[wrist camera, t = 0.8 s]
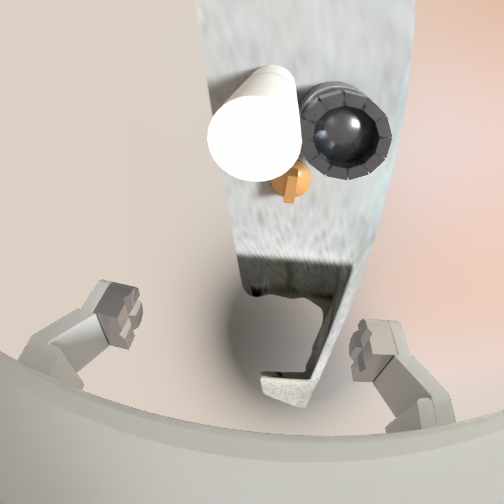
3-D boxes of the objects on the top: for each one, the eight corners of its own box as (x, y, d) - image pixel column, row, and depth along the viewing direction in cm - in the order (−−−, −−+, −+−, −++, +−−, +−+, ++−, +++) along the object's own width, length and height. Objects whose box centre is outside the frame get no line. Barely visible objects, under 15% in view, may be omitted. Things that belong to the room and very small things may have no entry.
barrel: (303, 74, 37) (307, 83, 30) (380, 91, 37) (401, 106, 29) (292, 144, 45) (292, 171, 38) (363, 158, 45) (377, 187, 38)
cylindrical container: (266, 115, 43) (244, 196, 24) (239, 81, 39) (188, 131, 21) (304, 93, 39) (319, 154, 21) (277, 56, 36) (265, 77, 17)
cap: (274, 155, 47) (272, 168, 44) (312, 161, 47) (314, 175, 43) (269, 189, 52) (267, 204, 48) (306, 194, 52) (307, 209, 48)
